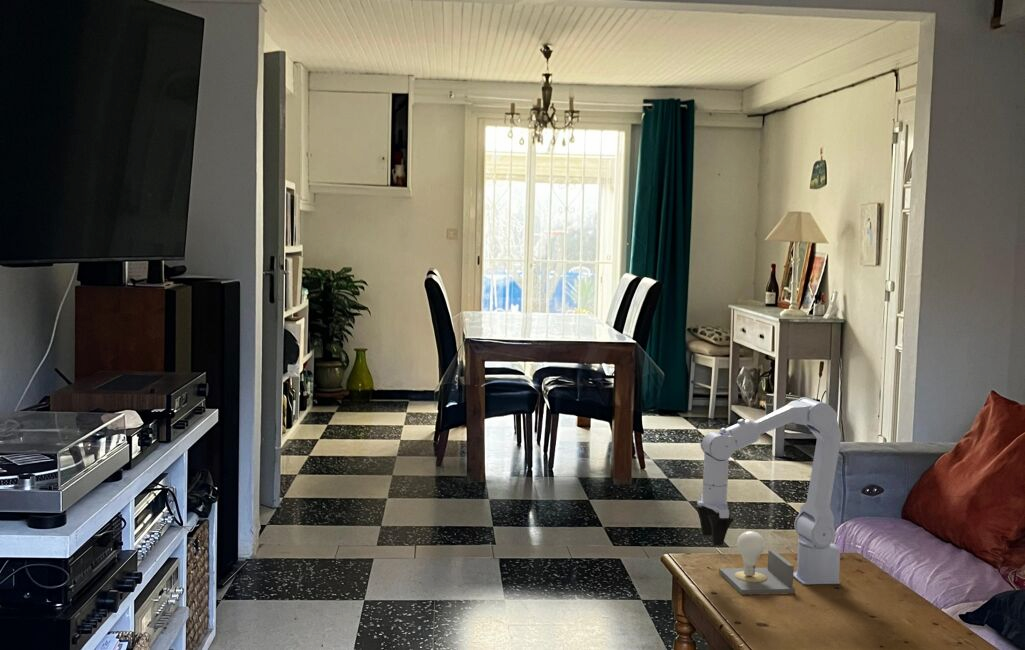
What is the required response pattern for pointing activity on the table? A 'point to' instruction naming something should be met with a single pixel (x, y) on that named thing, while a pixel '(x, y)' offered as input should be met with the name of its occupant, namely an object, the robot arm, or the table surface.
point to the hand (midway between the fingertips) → (712, 539)
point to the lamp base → (763, 577)
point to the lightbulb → (750, 550)
